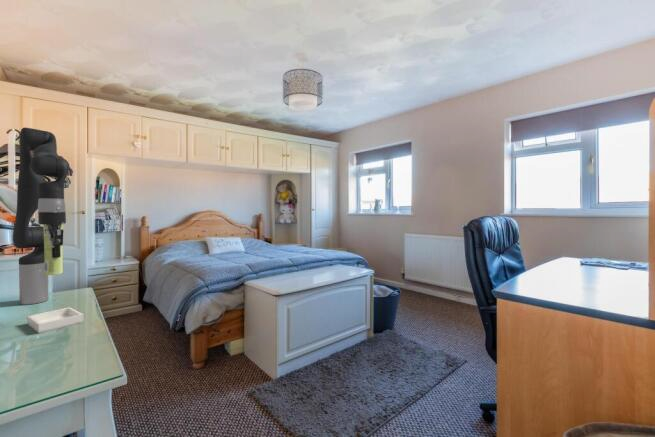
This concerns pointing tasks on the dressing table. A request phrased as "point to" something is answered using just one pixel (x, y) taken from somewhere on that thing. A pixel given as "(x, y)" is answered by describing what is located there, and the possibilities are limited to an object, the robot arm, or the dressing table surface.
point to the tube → (51, 264)
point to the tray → (54, 319)
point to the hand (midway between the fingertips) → (53, 256)
